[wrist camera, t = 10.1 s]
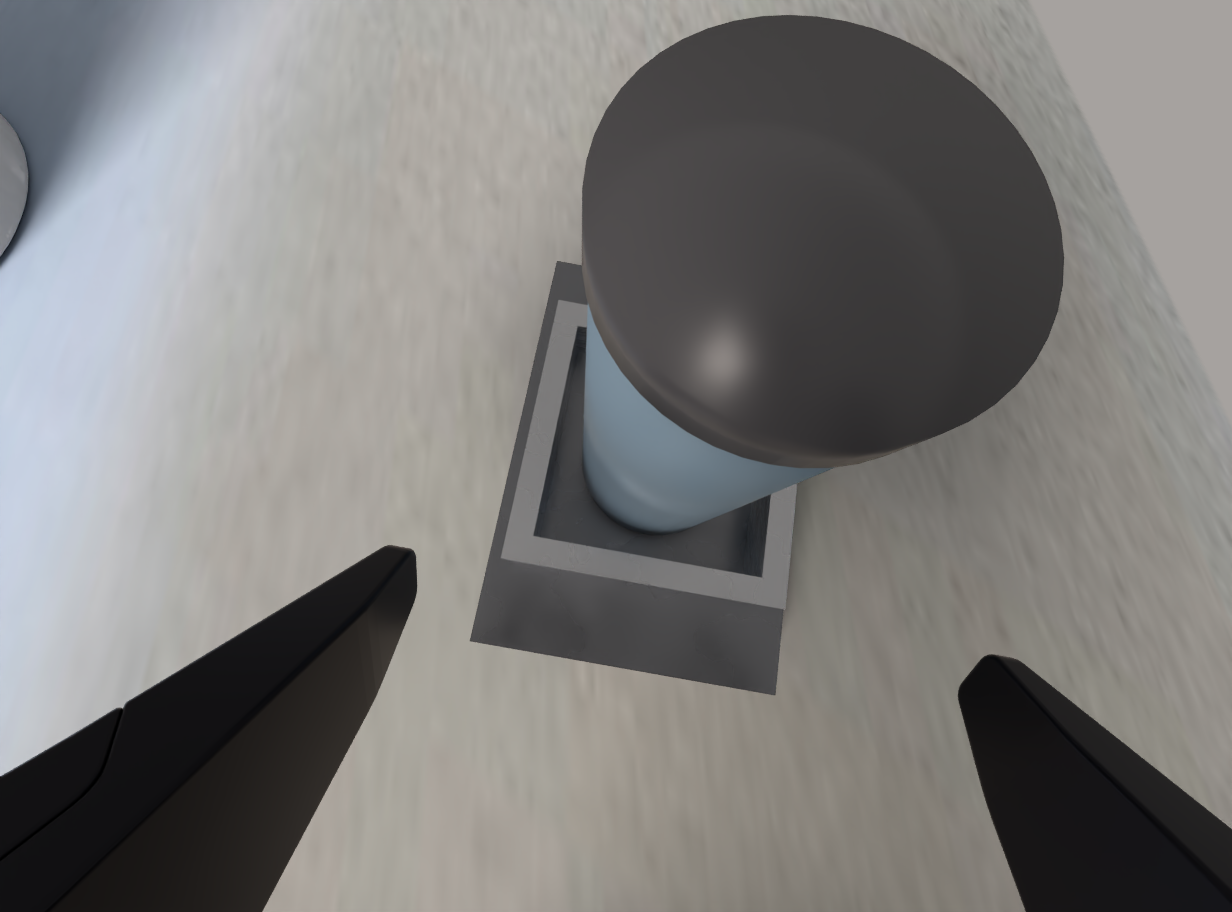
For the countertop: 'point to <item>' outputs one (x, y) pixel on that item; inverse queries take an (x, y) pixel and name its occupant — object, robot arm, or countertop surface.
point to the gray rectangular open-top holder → (623, 549)
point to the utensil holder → (11, 182)
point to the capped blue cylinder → (799, 265)
